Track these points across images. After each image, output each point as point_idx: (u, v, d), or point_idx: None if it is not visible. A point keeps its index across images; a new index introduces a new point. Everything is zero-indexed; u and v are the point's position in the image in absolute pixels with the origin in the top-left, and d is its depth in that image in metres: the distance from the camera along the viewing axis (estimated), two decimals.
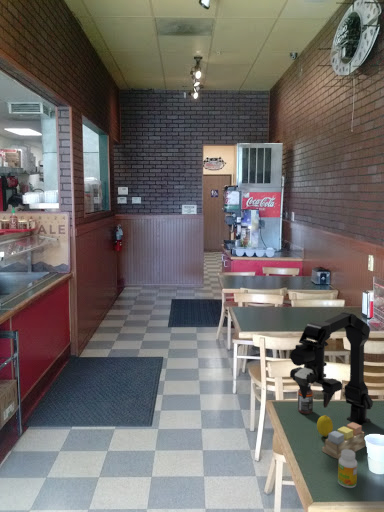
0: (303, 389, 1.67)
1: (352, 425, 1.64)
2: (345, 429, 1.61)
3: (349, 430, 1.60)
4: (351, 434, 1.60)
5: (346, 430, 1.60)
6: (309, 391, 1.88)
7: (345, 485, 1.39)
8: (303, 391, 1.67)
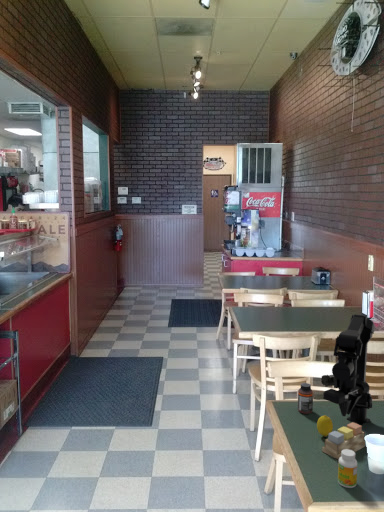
0: None
1: (352, 425, 1.64)
2: (345, 429, 1.61)
3: (349, 430, 1.60)
4: (351, 434, 1.60)
5: (346, 430, 1.60)
6: (309, 391, 1.88)
7: (345, 485, 1.39)
8: None
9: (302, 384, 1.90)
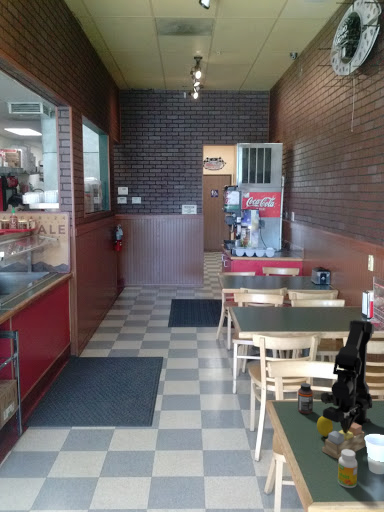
0: None
1: (352, 425, 1.64)
2: None
3: (349, 433, 1.60)
4: (351, 437, 1.60)
5: (346, 433, 1.60)
6: (309, 391, 1.88)
7: (345, 485, 1.39)
8: None
9: (302, 384, 1.90)
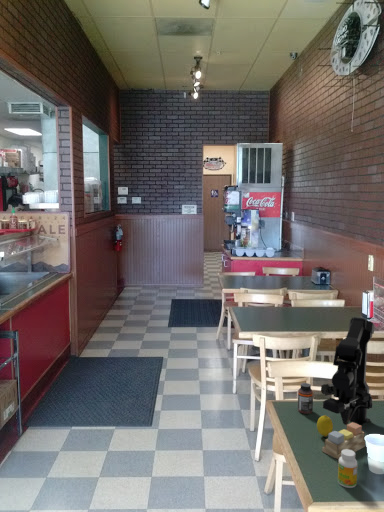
0: None
1: (352, 425, 1.64)
2: (345, 432, 1.61)
3: (349, 433, 1.60)
4: (351, 437, 1.60)
5: (346, 433, 1.60)
6: (309, 391, 1.88)
7: (345, 485, 1.39)
8: None
9: (302, 384, 1.90)
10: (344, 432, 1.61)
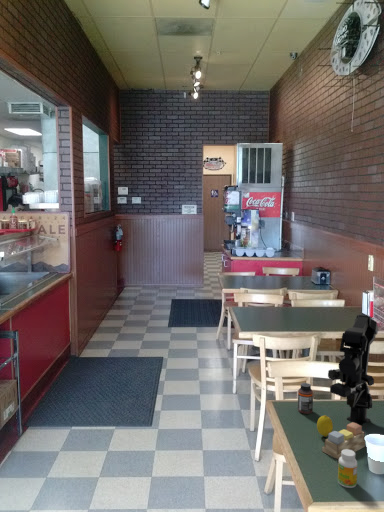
0: None
1: (352, 425, 1.64)
2: (345, 432, 1.61)
3: (349, 433, 1.60)
4: (351, 437, 1.60)
5: (346, 433, 1.60)
6: (309, 391, 1.88)
7: (345, 485, 1.39)
8: None
9: (302, 384, 1.90)
10: (344, 432, 1.61)
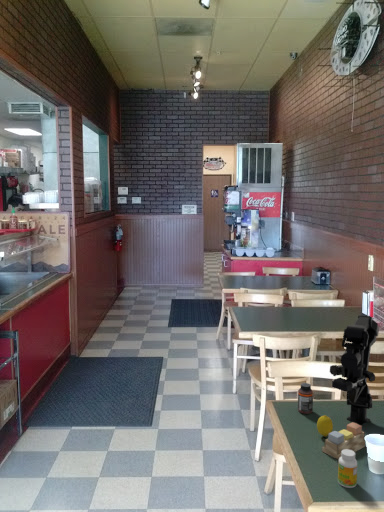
0: None
1: (352, 425, 1.64)
2: (345, 432, 1.61)
3: (349, 433, 1.60)
4: (351, 437, 1.60)
5: (346, 433, 1.60)
6: (309, 391, 1.88)
7: (345, 485, 1.39)
8: None
9: (302, 384, 1.90)
10: (344, 432, 1.61)
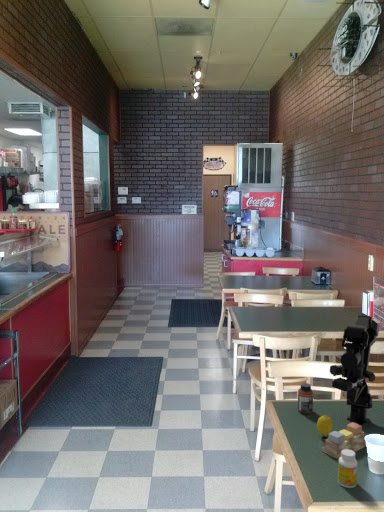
0: None
1: (352, 425, 1.64)
2: (345, 432, 1.61)
3: (349, 433, 1.60)
4: (351, 437, 1.60)
5: (346, 433, 1.60)
6: (309, 391, 1.88)
7: (345, 485, 1.39)
8: None
9: (302, 384, 1.90)
10: (344, 432, 1.61)
